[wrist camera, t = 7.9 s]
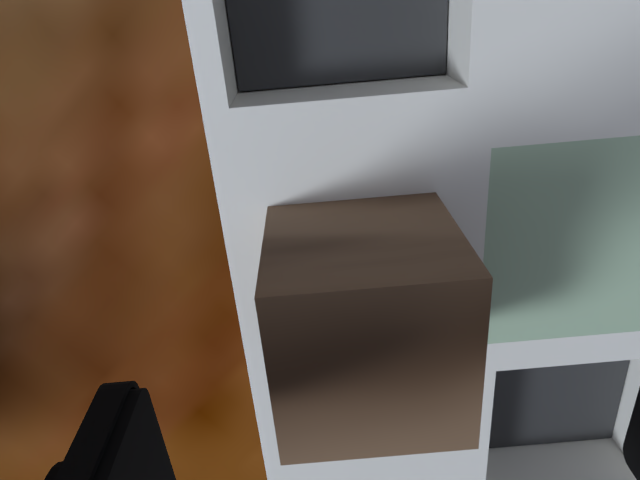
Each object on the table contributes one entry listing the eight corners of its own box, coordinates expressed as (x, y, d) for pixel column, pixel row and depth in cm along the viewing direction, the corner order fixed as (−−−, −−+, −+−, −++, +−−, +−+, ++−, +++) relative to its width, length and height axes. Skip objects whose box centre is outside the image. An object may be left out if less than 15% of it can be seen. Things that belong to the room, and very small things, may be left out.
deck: (610, 487, 25) (665, 576, 21) (284, 515, 25) (282, 608, 21) (818, -327, 12) (1047, -466, 9) (155, -269, 12) (91, -382, 9)
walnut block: (432, 329, 17) (478, 448, 13) (285, 342, 17) (280, 465, 13) (435, 192, 15) (493, 277, 11) (267, 206, 15) (254, 298, 11)
